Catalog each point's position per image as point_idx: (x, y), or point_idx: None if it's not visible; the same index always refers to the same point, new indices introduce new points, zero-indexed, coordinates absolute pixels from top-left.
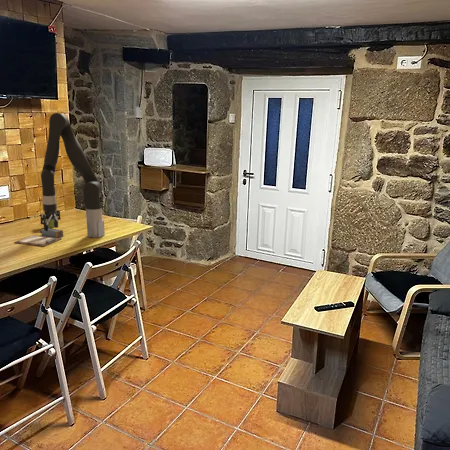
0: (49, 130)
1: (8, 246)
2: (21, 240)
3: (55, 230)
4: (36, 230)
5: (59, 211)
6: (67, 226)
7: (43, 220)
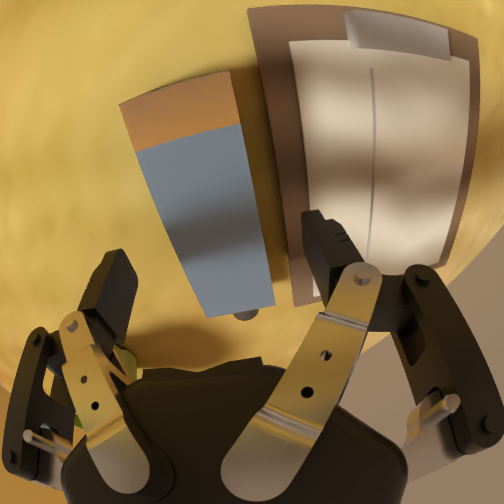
0: None
1: (483, 236)
2: (427, 257)
3: (201, 170)
4: (195, 360)
5: (4, 450)
6: (23, 306)
7: (464, 331)
